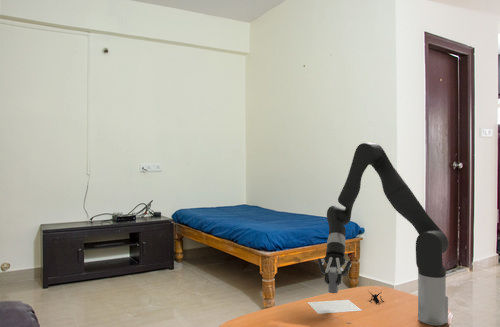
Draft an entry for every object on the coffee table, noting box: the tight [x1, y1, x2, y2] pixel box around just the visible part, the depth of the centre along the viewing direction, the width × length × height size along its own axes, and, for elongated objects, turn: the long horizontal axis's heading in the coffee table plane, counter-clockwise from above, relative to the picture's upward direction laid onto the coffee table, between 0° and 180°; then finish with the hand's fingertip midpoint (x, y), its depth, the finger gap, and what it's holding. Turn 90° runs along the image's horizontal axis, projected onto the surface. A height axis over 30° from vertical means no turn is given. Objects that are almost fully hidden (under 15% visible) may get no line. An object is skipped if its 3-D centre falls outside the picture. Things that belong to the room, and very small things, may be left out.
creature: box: [367, 290, 385, 305], centre depth 158 cm, size 8×5×8 cm
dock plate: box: [307, 299, 363, 315], centre depth 152 cm, size 18×12×1 cm, turn 101°
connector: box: [327, 267, 339, 294], centre depth 151 cm, size 5×4×9 cm
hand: (332, 283), depth 149 cm, fingers closed on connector, 3 cm apart
